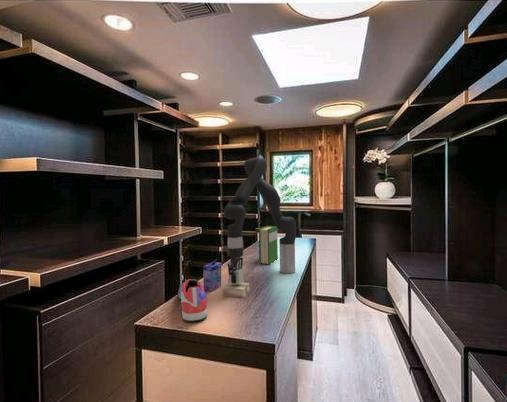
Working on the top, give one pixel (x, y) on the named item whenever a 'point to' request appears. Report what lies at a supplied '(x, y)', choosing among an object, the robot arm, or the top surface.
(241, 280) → the sage block
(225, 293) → the maple block
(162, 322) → the top surface
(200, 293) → the soccer shoe
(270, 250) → the hardback book
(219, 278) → the ink cartridge box
